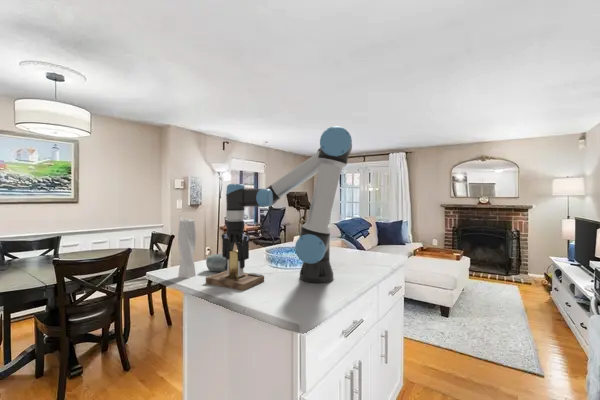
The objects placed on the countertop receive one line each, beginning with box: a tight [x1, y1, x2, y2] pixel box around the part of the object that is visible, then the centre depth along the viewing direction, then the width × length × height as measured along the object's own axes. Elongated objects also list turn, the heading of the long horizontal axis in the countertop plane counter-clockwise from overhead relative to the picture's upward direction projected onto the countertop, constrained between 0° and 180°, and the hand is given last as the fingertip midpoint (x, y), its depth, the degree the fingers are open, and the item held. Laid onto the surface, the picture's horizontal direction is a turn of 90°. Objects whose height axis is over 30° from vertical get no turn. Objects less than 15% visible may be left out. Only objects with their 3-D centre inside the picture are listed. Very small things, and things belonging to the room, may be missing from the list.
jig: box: [205, 271, 265, 291], centre depth 124 cm, size 20×14×3 cm
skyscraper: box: [177, 215, 197, 279], centre depth 133 cm, size 8×8×28 cm
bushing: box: [229, 249, 241, 279], centre depth 123 cm, size 5×5×12 cm
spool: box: [205, 253, 227, 273], centre depth 142 cm, size 14×10×10 cm
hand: (235, 274), depth 123 cm, fingers closed on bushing, 5 cm apart
